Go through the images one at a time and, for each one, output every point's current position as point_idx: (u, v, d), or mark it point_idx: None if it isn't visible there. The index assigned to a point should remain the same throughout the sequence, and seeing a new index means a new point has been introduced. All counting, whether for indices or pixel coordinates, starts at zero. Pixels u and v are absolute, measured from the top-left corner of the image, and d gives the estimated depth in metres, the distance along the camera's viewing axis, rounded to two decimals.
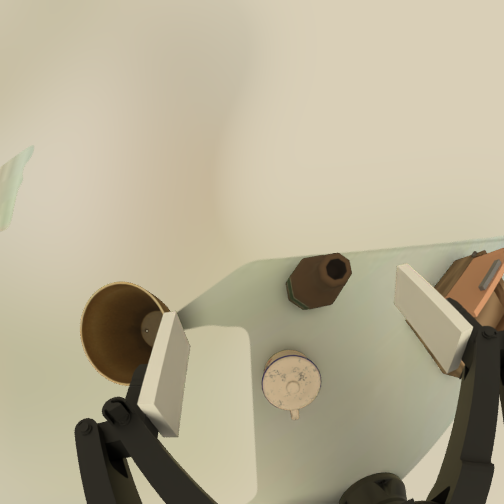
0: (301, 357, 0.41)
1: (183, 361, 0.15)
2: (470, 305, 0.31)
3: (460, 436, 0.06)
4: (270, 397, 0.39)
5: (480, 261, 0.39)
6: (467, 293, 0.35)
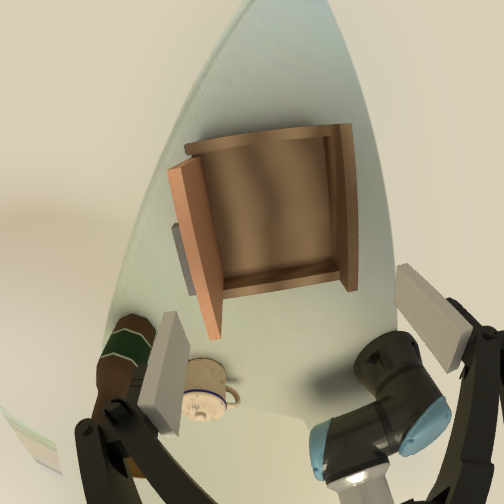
0: None
1: (183, 361, 0.15)
2: None
3: (460, 436, 0.06)
4: None
5: None
6: None
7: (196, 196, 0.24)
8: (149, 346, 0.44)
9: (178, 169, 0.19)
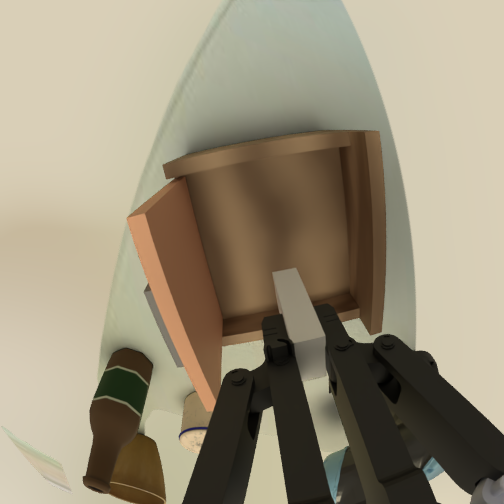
0: (184, 432, 0.38)
1: None
2: None
3: (364, 457, 0.07)
4: None
5: None
6: None
7: (177, 240, 0.18)
8: (146, 383, 0.38)
9: (142, 216, 0.13)
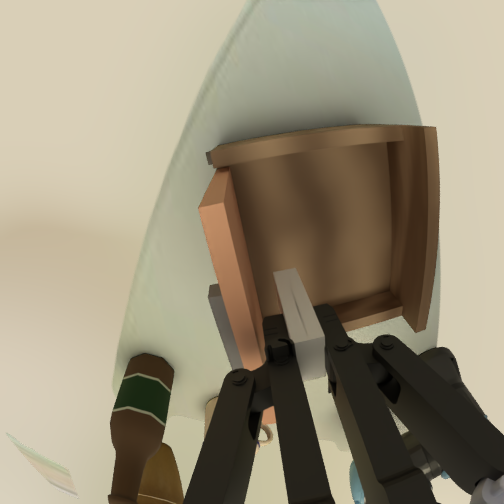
0: None
1: None
2: None
3: (363, 457, 0.07)
4: None
5: None
6: None
7: (238, 236, 0.16)
8: (169, 390, 0.36)
9: (219, 206, 0.11)
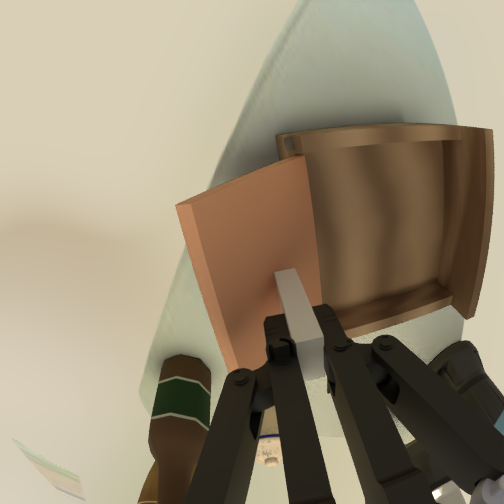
0: None
1: None
2: None
3: (363, 457, 0.07)
4: None
5: None
6: None
7: (258, 231, 0.16)
8: (209, 393, 0.35)
9: (188, 206, 0.12)
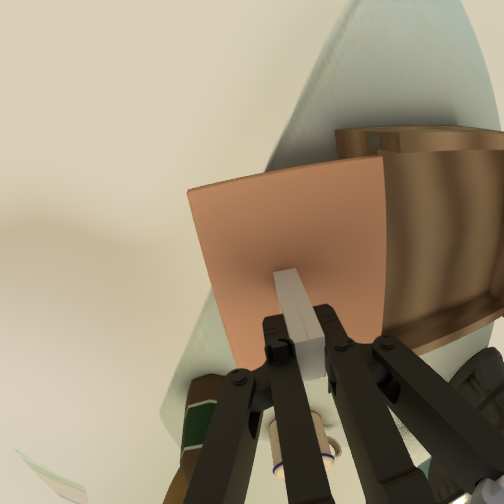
0: None
1: None
2: None
3: (363, 457, 0.07)
4: None
5: None
6: None
7: (273, 226, 0.17)
8: None
9: (187, 194, 0.15)
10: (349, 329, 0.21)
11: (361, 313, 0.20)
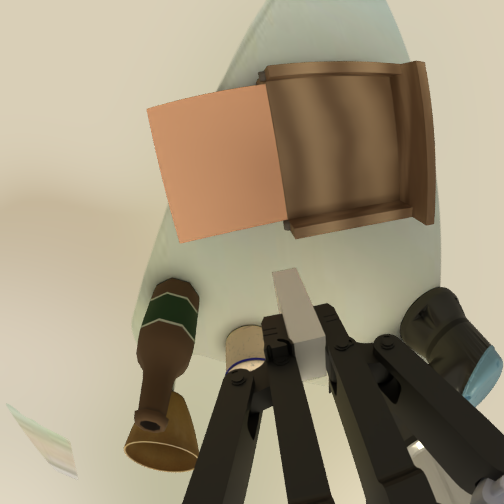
0: (234, 366, 0.41)
1: None
2: None
3: (364, 457, 0.07)
4: None
5: None
6: None
7: (194, 126, 0.26)
8: (196, 311, 0.41)
9: (147, 110, 0.25)
10: (257, 204, 0.30)
11: (264, 191, 0.30)
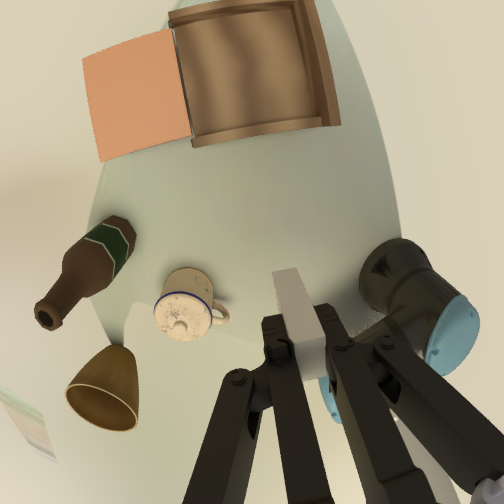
0: (159, 300, 0.41)
1: None
2: None
3: (364, 457, 0.07)
4: (186, 339, 0.43)
5: None
6: None
7: (114, 66, 0.27)
8: (127, 243, 0.41)
9: (82, 59, 0.25)
10: (163, 122, 0.31)
11: (169, 111, 0.30)
